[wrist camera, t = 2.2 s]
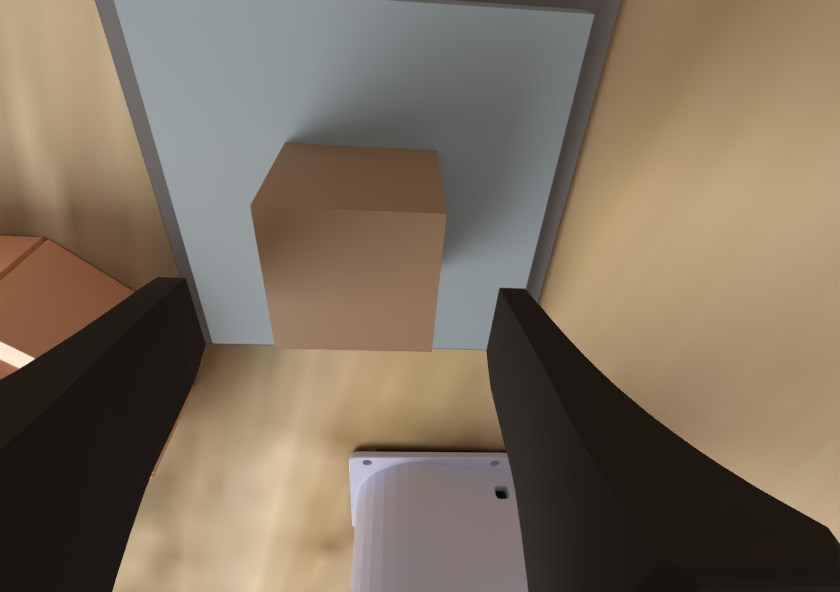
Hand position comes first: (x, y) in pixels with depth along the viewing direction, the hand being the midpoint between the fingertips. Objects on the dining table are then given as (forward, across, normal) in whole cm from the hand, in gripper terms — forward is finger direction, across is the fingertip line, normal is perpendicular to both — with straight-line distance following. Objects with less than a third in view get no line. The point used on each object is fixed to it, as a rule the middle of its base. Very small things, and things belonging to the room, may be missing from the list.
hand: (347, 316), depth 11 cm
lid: (+6, 0, 0) cm, 6 cm away
